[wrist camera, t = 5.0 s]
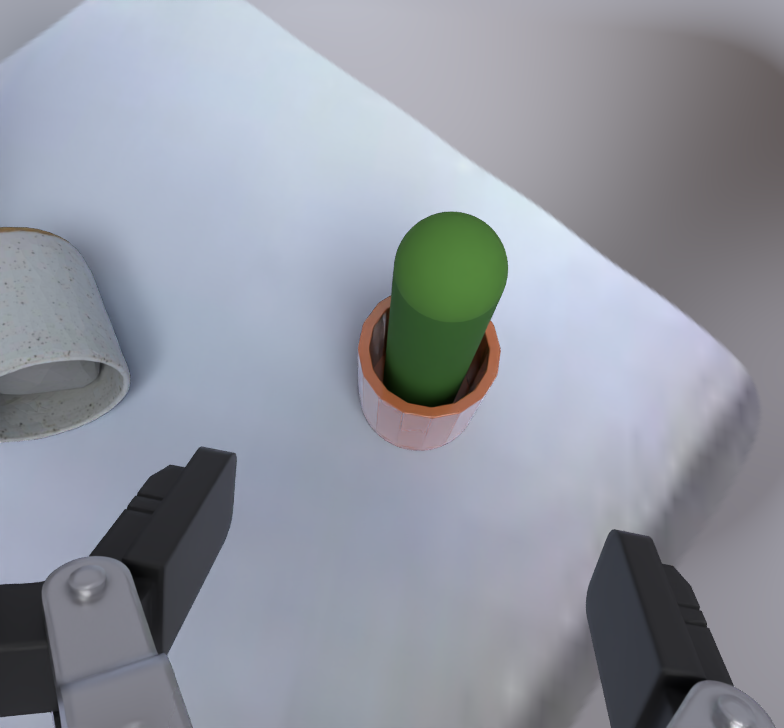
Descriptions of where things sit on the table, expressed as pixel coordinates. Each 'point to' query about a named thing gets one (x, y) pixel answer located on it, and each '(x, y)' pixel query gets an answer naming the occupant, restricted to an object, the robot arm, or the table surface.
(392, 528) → the table surface
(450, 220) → the cucumber
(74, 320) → the ceramic mug
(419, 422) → the cup
